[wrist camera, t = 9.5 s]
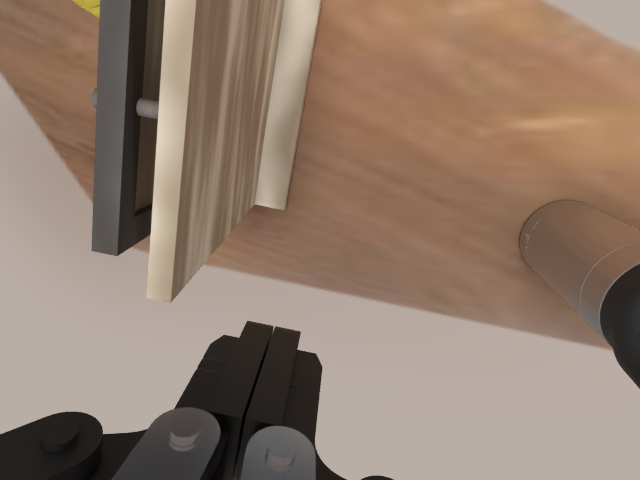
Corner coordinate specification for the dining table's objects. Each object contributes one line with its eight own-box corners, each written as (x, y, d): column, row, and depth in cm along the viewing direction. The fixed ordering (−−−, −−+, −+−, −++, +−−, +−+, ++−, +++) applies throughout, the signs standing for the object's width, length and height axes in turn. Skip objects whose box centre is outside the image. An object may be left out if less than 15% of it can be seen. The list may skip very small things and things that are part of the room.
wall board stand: (321, 1, 44) (284, -115, 19) (286, 207, 51) (226, 314, 26) (206, -23, 44) (20, -169, 19) (187, 186, 51) (35, 274, 26)
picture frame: (217, -10, 34) (135, -84, 21) (194, 205, 40) (117, 256, 26) (192, -16, 34) (93, -93, 21) (172, 201, 40) (83, 249, 26)
